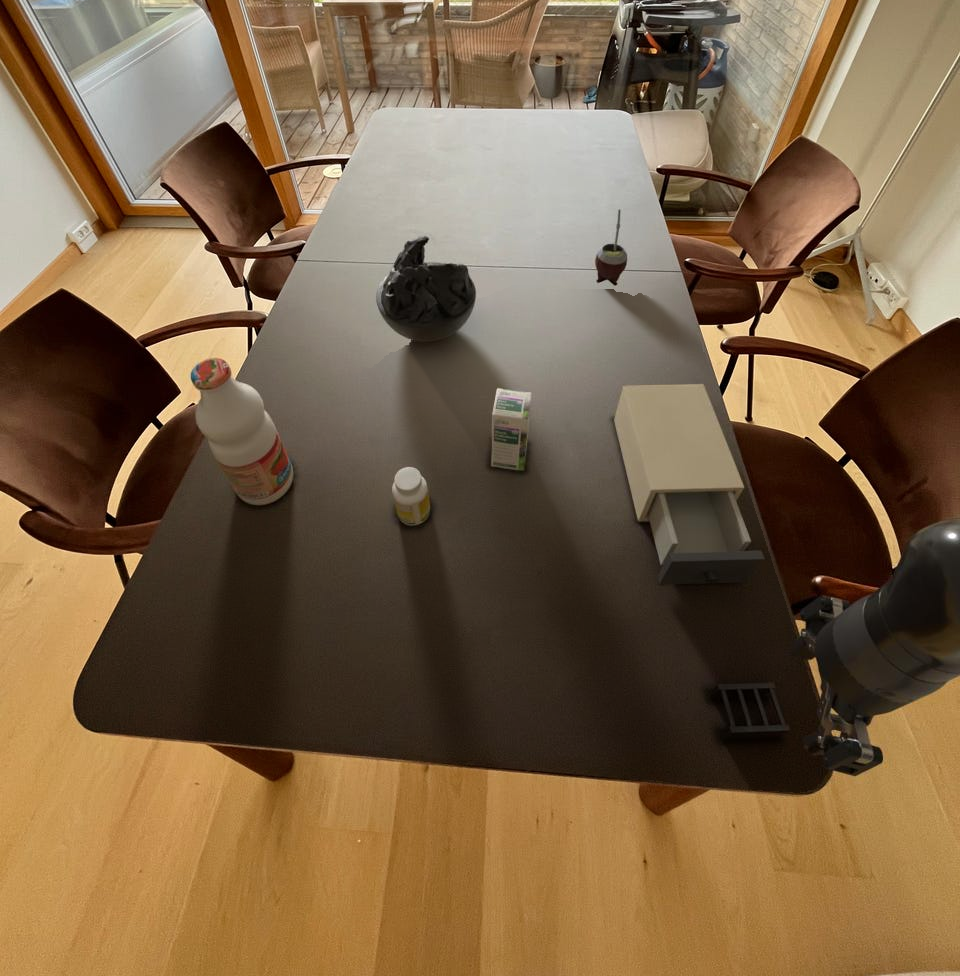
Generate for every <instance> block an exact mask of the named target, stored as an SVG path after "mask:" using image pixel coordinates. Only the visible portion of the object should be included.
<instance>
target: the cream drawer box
mask: <svg viewBox="0 0 960 976" xmlns="http://www.w3.org/2000/svg"><path fill="white" fill-rule="evenodd" d="M615 411H616V412H615V415H614V419H613V421H614V426H615V430H616V434H617V439H618V443H619V446H620V451H621V455H622V461H623V463H624V466H625V467H624V468H625V472H626V476H627V479H628V480H627V481H628V484H629V489H630V494H631V498H632V501H633V506H634V509H635V515H636V519H637V522H639V523H641V522H650V521H649V517H648V513H647V512H648V510H649V508H650V505H651V503H652V501H653V498H654V496H655V494H656V493H665V492H704V491H732V492H733V494H734V497H735V500H736V501H737V500H738V499H739V497H740V495H741V494H742V492H743V491H744V489H745V485H744V483H743V480H742V477H741V475H740V473H739V470H738V467H737V465H736V462H735V460H734V457H733V454H732V453H731V450H730V448H729V447H730V446H729V445H728V443H727V440H726V437H725V435H724V432H723V430H722V427H721V425H720V422H719V419H718V417H717V414H716V411H715V409H714V407H713V404H712V401H711V400H710V397H709V393H708V392H707V389H706V387H705V385H704V383H696V384H695V383H694V384H692V383H691V384H687V383H686V384H646V385H643V384H642V385H641V384H640V385H623V386H622V390H621V394H620V397H619V401H618V404H617V407H616V410H615Z"/></svg>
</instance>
